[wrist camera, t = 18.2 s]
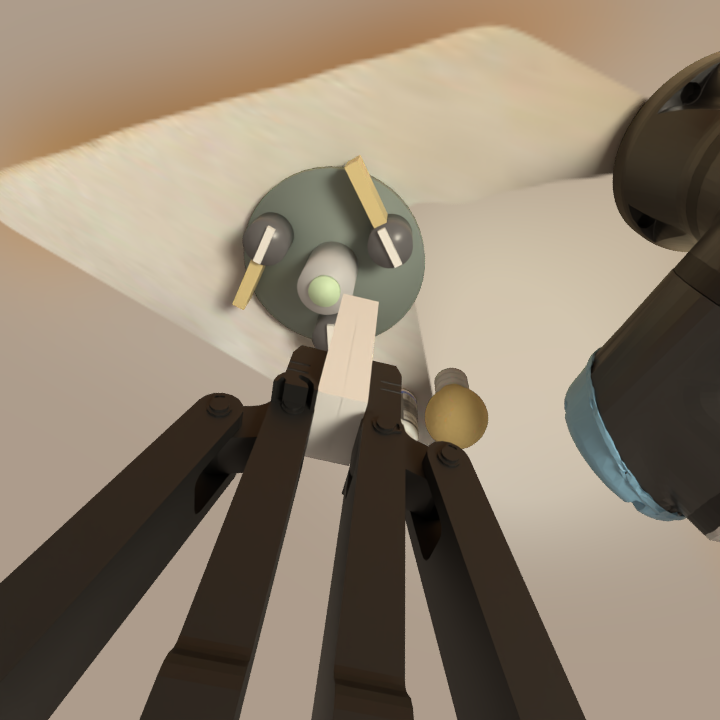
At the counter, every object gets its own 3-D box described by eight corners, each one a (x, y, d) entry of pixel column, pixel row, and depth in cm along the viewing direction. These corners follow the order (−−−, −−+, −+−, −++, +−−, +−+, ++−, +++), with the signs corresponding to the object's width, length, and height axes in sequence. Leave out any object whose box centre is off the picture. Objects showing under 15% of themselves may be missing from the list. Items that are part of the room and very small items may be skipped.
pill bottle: (379, 416, 56) (375, 467, 49) (377, 387, 54) (373, 435, 47) (416, 417, 56) (418, 467, 49) (417, 387, 53) (419, 436, 46)
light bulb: (488, 366, 51) (505, 426, 42) (462, 406, 54) (472, 468, 46) (437, 347, 50) (444, 404, 42) (413, 389, 53) (415, 449, 45)
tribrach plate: (431, 167, 40) (436, 186, 33) (418, 340, 50) (420, 379, 43) (233, 166, 41) (203, 184, 35) (260, 335, 51) (240, 372, 45)
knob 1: (261, 204, 41) (250, 215, 38) (300, 225, 42) (292, 238, 39) (228, 285, 46) (216, 301, 43) (264, 303, 47) (254, 319, 44)
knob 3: (419, 245, 42) (420, 258, 39) (381, 262, 43) (379, 277, 40) (374, 146, 38) (372, 153, 35) (334, 168, 39) (328, 177, 36)
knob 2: (316, 306, 47) (309, 323, 44) (354, 308, 46) (350, 325, 43) (321, 380, 52) (316, 399, 49) (355, 381, 52) (352, 401, 49)
